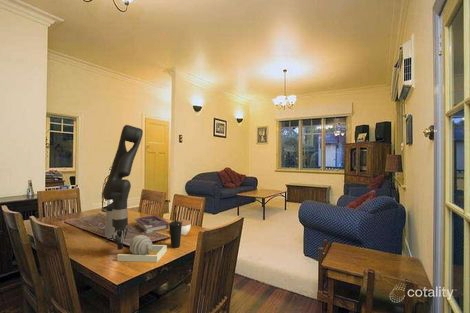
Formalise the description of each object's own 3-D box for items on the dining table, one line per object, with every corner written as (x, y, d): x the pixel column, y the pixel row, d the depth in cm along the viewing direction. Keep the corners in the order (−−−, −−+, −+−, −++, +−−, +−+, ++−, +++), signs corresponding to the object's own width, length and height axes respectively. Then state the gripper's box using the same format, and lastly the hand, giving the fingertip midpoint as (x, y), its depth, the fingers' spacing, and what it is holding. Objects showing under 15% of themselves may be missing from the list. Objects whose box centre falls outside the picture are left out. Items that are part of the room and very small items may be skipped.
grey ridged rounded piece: (140, 249, 140) (140, 230, 140) (160, 257, 131) (160, 236, 130) (123, 256, 132) (122, 235, 131) (142, 265, 122) (142, 242, 122)
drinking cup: (169, 244, 149) (169, 210, 148) (183, 244, 149) (183, 210, 149) (167, 249, 141) (167, 214, 140) (181, 249, 142) (181, 213, 141)
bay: (117, 260, 126) (117, 254, 126) (130, 249, 141) (130, 244, 141) (157, 262, 125) (157, 256, 125) (166, 250, 139) (166, 245, 139)
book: (134, 224, 188) (134, 218, 188) (155, 221, 198) (155, 214, 198) (145, 234, 168) (145, 226, 168) (168, 229, 178) (168, 222, 178)
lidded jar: (187, 236, 162) (187, 222, 162) (171, 235, 164) (171, 221, 164) (193, 231, 172) (193, 217, 172) (178, 230, 174) (178, 216, 174)
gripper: (119, 213, 140) (119, 244, 141) (106, 220, 127) (106, 254, 128) (132, 213, 140) (132, 244, 141) (120, 220, 127) (121, 254, 127)
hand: (120, 249), depth 134 cm, fingers closed
